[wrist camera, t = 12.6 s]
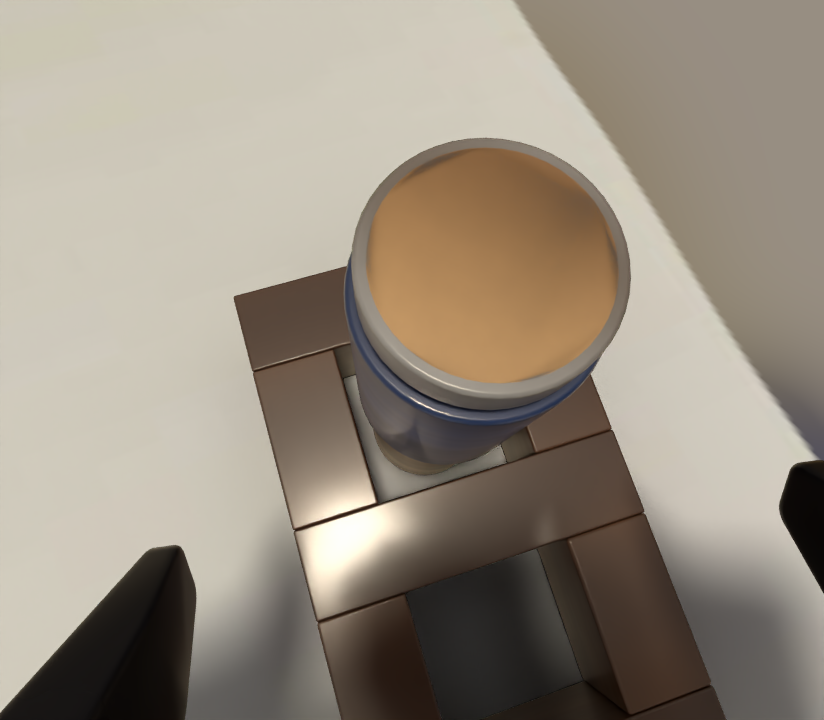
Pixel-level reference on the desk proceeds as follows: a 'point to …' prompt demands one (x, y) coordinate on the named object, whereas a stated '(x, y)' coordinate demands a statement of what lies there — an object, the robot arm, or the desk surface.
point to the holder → (464, 534)
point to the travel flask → (478, 297)
